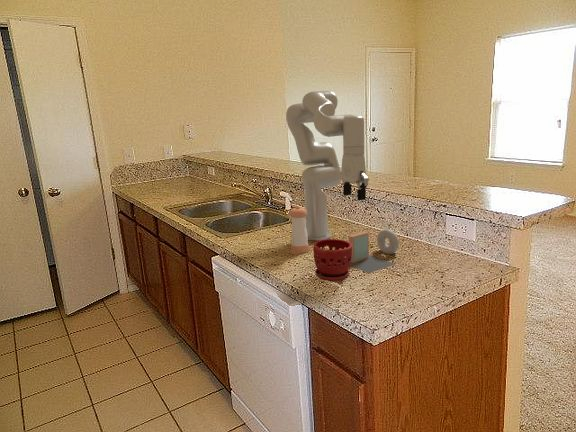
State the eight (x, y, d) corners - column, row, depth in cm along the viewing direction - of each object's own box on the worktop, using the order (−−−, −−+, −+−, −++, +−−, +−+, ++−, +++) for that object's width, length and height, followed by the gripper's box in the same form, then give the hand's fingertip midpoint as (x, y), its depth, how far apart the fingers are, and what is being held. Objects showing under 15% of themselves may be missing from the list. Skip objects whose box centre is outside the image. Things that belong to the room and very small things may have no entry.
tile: (349, 261, 163) (348, 235, 160) (365, 256, 167) (364, 231, 164) (353, 263, 161) (352, 237, 159) (369, 258, 165) (368, 232, 163)
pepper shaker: (307, 255, 174) (305, 208, 170) (289, 255, 176) (287, 208, 171) (310, 249, 181) (308, 204, 176) (293, 249, 183) (290, 204, 178)
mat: (338, 263, 164) (338, 261, 164) (364, 255, 171) (364, 253, 171) (368, 275, 151) (368, 273, 151) (395, 266, 158) (395, 264, 158)
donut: (375, 252, 174) (374, 227, 171) (381, 250, 176) (381, 225, 173) (394, 258, 166) (394, 232, 163) (400, 256, 168) (401, 231, 165)
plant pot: (332, 287, 143) (330, 252, 140) (306, 276, 153) (305, 243, 150) (360, 277, 150) (360, 243, 147) (334, 266, 161) (333, 235, 158)
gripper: (332, 149, 165) (333, 194, 169) (357, 154, 149) (358, 203, 154) (350, 148, 167) (350, 192, 172) (376, 152, 152) (376, 200, 156)
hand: (354, 197), depth 163 cm, fingers open, 9 cm apart
